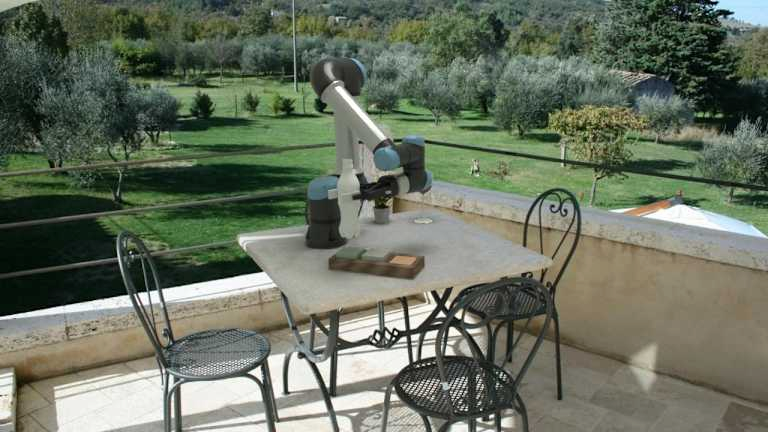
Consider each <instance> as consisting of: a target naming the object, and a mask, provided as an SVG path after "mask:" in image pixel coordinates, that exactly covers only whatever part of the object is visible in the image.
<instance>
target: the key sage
mask: <svg viewBox="0 0 768 432" xmlns="http://www.w3.org/2000/svg"><path fill="white" fill-rule="evenodd" d="M365 250H366V248H365V247H361V246H350V245H343V247H342V248H339V250H337V251H336V252H335V254H336V257H338V258H347V259H356V260H357V259H358V258H360V257H361V256H362V255H363V254H364V253H365Z"/></svg>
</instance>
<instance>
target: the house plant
mask: <svg viewBox="0 0 768 432" xmlns="http://www.w3.org/2000/svg"><path fill="white" fill-rule="evenodd" d="M391 199H392V200H391ZM392 201H394V199H393V197H391V198H383V197H381V198H377V199H373V200H369V201H368V200H367V204H368V203H370V202H372V203H373V204H375V202H376V204H375V205H374V206H372V211H373V215H374V220H375V223H376V224H388V223H389V219H390V213H391V205H389V203H391V202H392ZM387 222H388V223H387Z"/></svg>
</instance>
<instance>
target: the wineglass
mask: <svg viewBox="0 0 768 432" xmlns="http://www.w3.org/2000/svg"><path fill="white" fill-rule="evenodd" d="M428 171H429V172H430V174H431V177H432V183H431V186H430V187H429V188H428V189H426V190H423V191H420V192H419V194H421V196H422V197H421V200H422V201H421V205H422V207H421V208H422V209H421V217H422V218H416V219H417V220H416V219H414V220H415V221H414V220H413V222H414V223H416V224H421V223H425V224H431V223H432V222H433V220H432V219H431V220H430V218H425V194H426V193H428V192H430V191H431V189H432V187H433V183H434V171H432V170H428ZM430 222H431V223H430Z"/></svg>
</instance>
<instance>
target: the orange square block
mask: <svg viewBox="0 0 768 432" xmlns="http://www.w3.org/2000/svg"><path fill="white" fill-rule="evenodd" d="M417 259H418V258H416V257H406V256H397V255H396V256H395V257H394V258H393V259H392V260H391V261H390V262H389V263H393V264H403V265H412V264H413V263H414V262H415V261H416V260H417Z"/></svg>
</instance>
